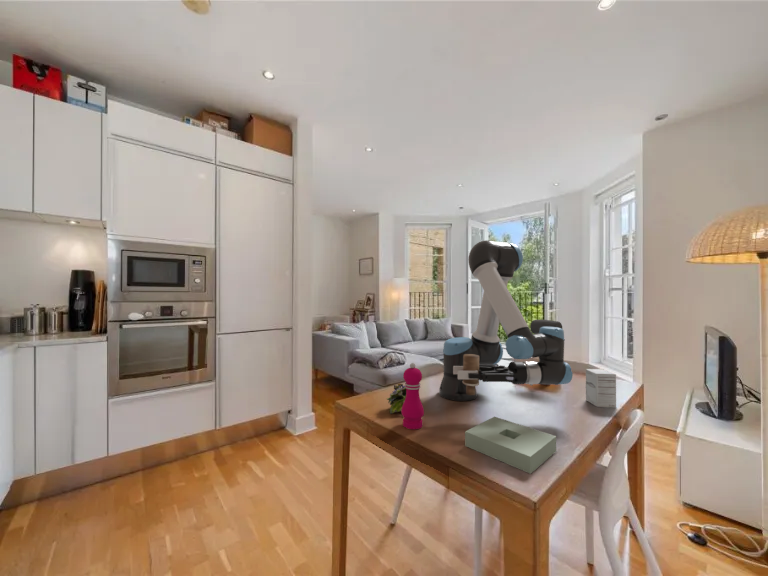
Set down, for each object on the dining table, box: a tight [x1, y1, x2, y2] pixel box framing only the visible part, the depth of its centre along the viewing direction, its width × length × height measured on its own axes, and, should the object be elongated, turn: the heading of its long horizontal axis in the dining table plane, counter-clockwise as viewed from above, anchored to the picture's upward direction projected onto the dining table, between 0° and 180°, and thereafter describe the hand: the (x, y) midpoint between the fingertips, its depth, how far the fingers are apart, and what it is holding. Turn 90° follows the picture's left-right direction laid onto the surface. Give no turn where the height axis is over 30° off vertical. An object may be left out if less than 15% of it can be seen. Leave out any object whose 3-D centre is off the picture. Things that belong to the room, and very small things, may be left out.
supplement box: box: [585, 368, 617, 408], centre depth 121 cm, size 7×7×13 cm
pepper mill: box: [400, 362, 425, 430], centre depth 101 cm, size 7×7×20 cm
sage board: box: [464, 416, 557, 475], centre depth 86 cm, size 18×16×4 cm
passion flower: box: [386, 383, 406, 415], centre depth 114 cm, size 11×11×12 cm
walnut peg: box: [463, 354, 480, 395], centre depth 107 cm, size 5×5×13 cm
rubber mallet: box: [529, 319, 563, 334], centre depth 148 cm, size 12×8×30 cm, turn 33°
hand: (455, 372), depth 107 cm, fingers closed on walnut peg, 5 cm apart
